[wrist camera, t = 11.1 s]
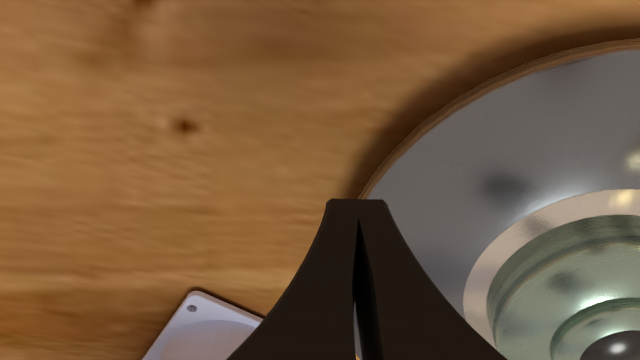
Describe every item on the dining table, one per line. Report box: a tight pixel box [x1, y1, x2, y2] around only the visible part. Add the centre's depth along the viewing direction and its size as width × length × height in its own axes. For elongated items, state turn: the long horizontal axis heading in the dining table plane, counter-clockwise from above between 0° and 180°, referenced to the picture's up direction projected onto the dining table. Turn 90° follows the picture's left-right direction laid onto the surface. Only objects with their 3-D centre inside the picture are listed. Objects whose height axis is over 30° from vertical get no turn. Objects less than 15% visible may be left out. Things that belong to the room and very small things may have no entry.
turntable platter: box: [353, 38, 640, 360], centre depth 24 cm, size 22×22×4 cm
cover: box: [486, 214, 640, 360], centre depth 23 cm, size 9×9×3 cm
